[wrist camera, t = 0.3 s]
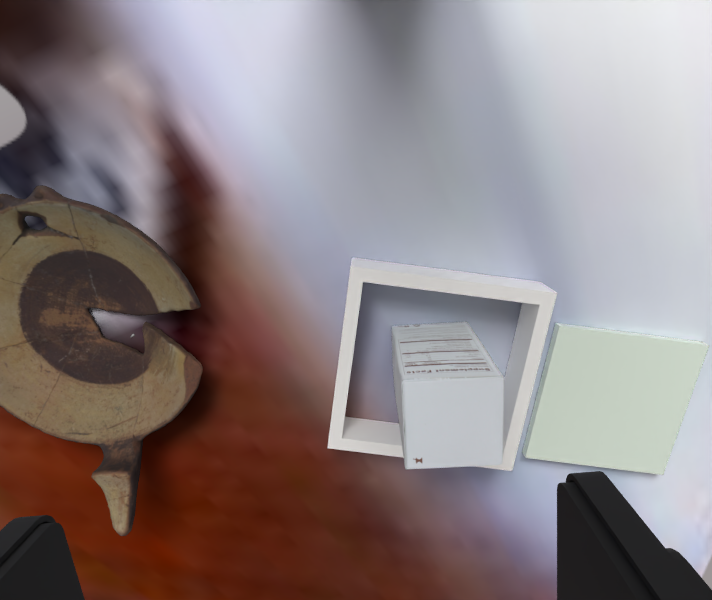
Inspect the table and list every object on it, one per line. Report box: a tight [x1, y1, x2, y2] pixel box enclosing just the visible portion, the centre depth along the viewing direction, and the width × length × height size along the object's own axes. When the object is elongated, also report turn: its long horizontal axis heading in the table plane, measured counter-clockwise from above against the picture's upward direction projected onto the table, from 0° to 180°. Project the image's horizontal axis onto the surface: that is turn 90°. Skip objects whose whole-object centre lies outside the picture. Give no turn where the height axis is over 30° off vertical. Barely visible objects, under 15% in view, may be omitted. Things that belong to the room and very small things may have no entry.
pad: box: [522, 323, 709, 475], centre depth 46 cm, size 14×14×1 cm
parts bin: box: [328, 257, 557, 471], centre depth 44 cm, size 17×17×4 cm
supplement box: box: [392, 321, 504, 469], centre depth 40 cm, size 7×7×13 cm
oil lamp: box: [0, 185, 203, 536], centre depth 43 cm, size 22×30×8 cm
